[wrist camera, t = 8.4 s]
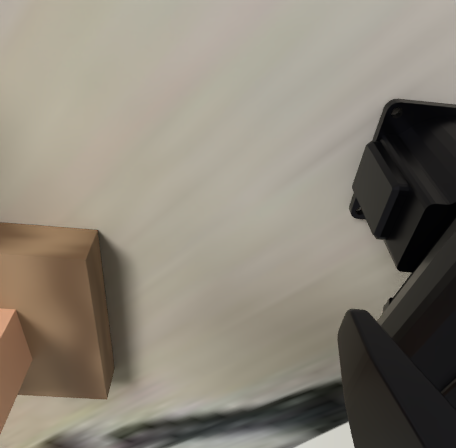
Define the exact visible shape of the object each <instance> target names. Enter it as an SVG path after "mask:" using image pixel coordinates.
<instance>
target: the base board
mask: <svg viewBox="0 0 456 448" xmlns="http://www.w3.org/2000/svg"><path fill="white" fill-rule="evenodd" d="M0 308H1V309H16V312H17V315H18V318H19V321H20V324H21V327H22V330H23V333H24V335H25V338H26V341H27V344H28V347H29V350H30V353H31V356H32V359H33V360H32V362H31V364H30V367H29V369H28V371H27V373H26V376H25V378H24V380H23V383H22V385H21V387H20V390H19V392H18V394H17V395H33V396H52V397H71V398H90V399H107V397H108V393H109V389H110V385H111V381H112V377H113V373H114V361H113V352H112V344H111V336H110V328H109V320H108V311H107V303H106V295H105V287H104V278H103V270H102V262H101V254H100V245H99V237H98V230H90V229H77V228H64V227H51V226H39V225H26V224H13V223H0Z"/></svg>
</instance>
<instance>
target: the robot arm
mask: <svg viewBox="0 0 456 448" xmlns="http://www.w3.org/2000/svg"><path fill="white" fill-rule="evenodd" d="M398 107H399V108H400V110H399V112H398V113H397V114H394V115H391V113H392V111H393V110H394V109H395V108H398ZM352 189H353V191H354V194H353V197H352V200H351V203H350V206H349V210H350V212H351V215H352V216H353V217H354V218H358V219H366V220H367V222H368V225H369V227H370V229H371V232H372V234H373V235H374V236H375V238H376V239H381V240H384V242H385V244H386V246H387V248H388V250H389V253H390V255H391V257H392V259H393V261H394V263H395V265H396V268H397V269H398V270H399V271H402V272H412V274H411V275H410V276H409V278H408V279H407V280H406V281H405V283H404V284H403V285H402V287H401V288H400V289H399V291H398V292H397V293H396V295H395V296H394V297H393V298H390V299H389V300H388V301H387V303H386V304H385V305H384V307H383V314H382V315H381V317H380V318H379V319H378V320H377V321H376V320H375V319H374V318H373V317H372V316H371V315H370V314H369V313H368V312H367V311H366V310H360V309H349V310H348V311H347V312H346V314H345V316H344V319H343V321H342V323H341V326H340V328H339V331H338V348H339V357H340V366H341V375H342V384H343V393H344V400H345V406H346V411H347V416H348V420H349V425H350V429H351V434H352V438H353V443H354V447H355V448H456V105H453V104H444V103H434V102H424V101H414V100H405V99H393V100H391V101H389V102H388V103H387V104H386V105H385V107H384V109H383V112H382V115H381V117H380V120H379V123H378V126H377V129H376V132H375V134H374V137H373V140H372V141H371V142H370V143H368V144H367V145H366V147H365V150H364V153H363V156H362V159H361V162H360V165H359V168H358V171H357V174H356V177H355V179H354V182H353V185H352ZM359 207H361V210H358V211H357V210H356V209H357V208H359Z"/></svg>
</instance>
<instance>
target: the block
mask: <svg viewBox="0 0 456 448" xmlns="http://www.w3.org/2000/svg"><path fill="white" fill-rule="evenodd" d="M32 360H33V359H32V356H31V353H30V350H29V347H28V344H27V341H26V338H25V335H24V333H23V330H22V327H21V324H20V321H19V318H18V315H17V312H16V309H1V308H0V434H1V431H2V429H3V427H4V424H5V422H6V420H7V418H8V415H9V413H10V411H11V408H12V406H13V404H14V401H15V399H16V397H17V394H18V392H19V390H20V387H21V385H22V383H23V380H24V378H25V376H26V373H27V371H28V369H29V367H30V364H31V362H32Z"/></svg>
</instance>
